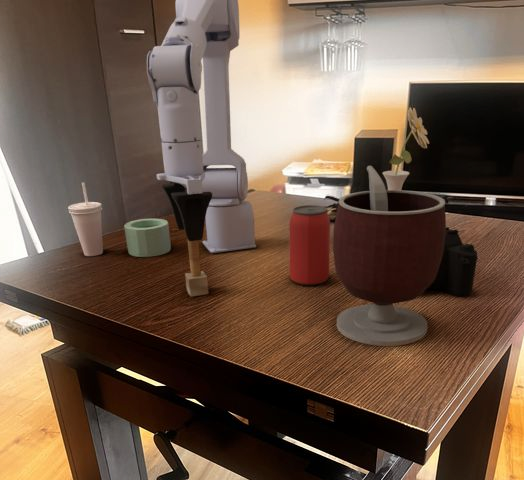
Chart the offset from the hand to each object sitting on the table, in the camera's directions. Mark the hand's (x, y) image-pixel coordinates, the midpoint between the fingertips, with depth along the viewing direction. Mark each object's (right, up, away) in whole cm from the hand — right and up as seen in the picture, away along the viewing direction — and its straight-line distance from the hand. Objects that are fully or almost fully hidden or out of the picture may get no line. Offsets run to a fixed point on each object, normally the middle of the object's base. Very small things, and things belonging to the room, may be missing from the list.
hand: (189, 234), depth 83 cm
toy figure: (+27, +12, +43) cm, 52 cm away
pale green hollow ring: (-12, +2, +26) cm, 29 cm away
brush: (+1, -9, +4) cm, 10 cm away
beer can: (+19, -6, +8) cm, 22 cm away
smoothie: (-23, +2, +26) cm, 35 cm away
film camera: (+38, -8, +4) cm, 39 cm away
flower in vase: (+38, +4, +25) cm, 46 cm away
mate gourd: (+28, -14, -8) cm, 32 cm away
